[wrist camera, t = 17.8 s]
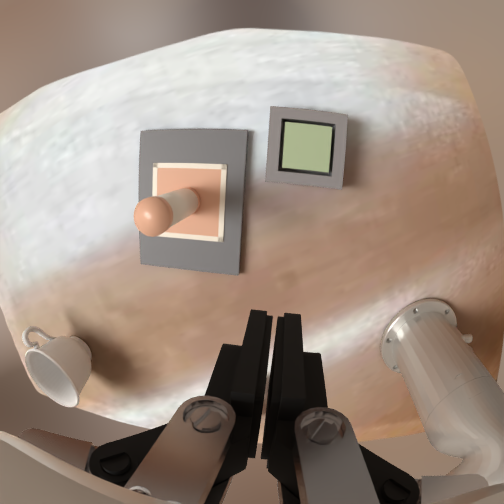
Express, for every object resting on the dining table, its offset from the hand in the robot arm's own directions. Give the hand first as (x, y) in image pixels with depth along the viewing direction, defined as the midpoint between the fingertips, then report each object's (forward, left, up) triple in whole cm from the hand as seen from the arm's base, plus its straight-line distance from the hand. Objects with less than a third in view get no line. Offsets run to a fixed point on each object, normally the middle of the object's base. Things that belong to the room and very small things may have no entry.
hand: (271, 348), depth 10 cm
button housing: (-2, -8, -25) cm, 26 cm away
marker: (+11, -1, -24) cm, 27 cm away
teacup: (+34, +25, -25) cm, 49 cm away
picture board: (+11, -1, -25) cm, 27 cm away
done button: (-2, -8, -24) cm, 25 cm away
